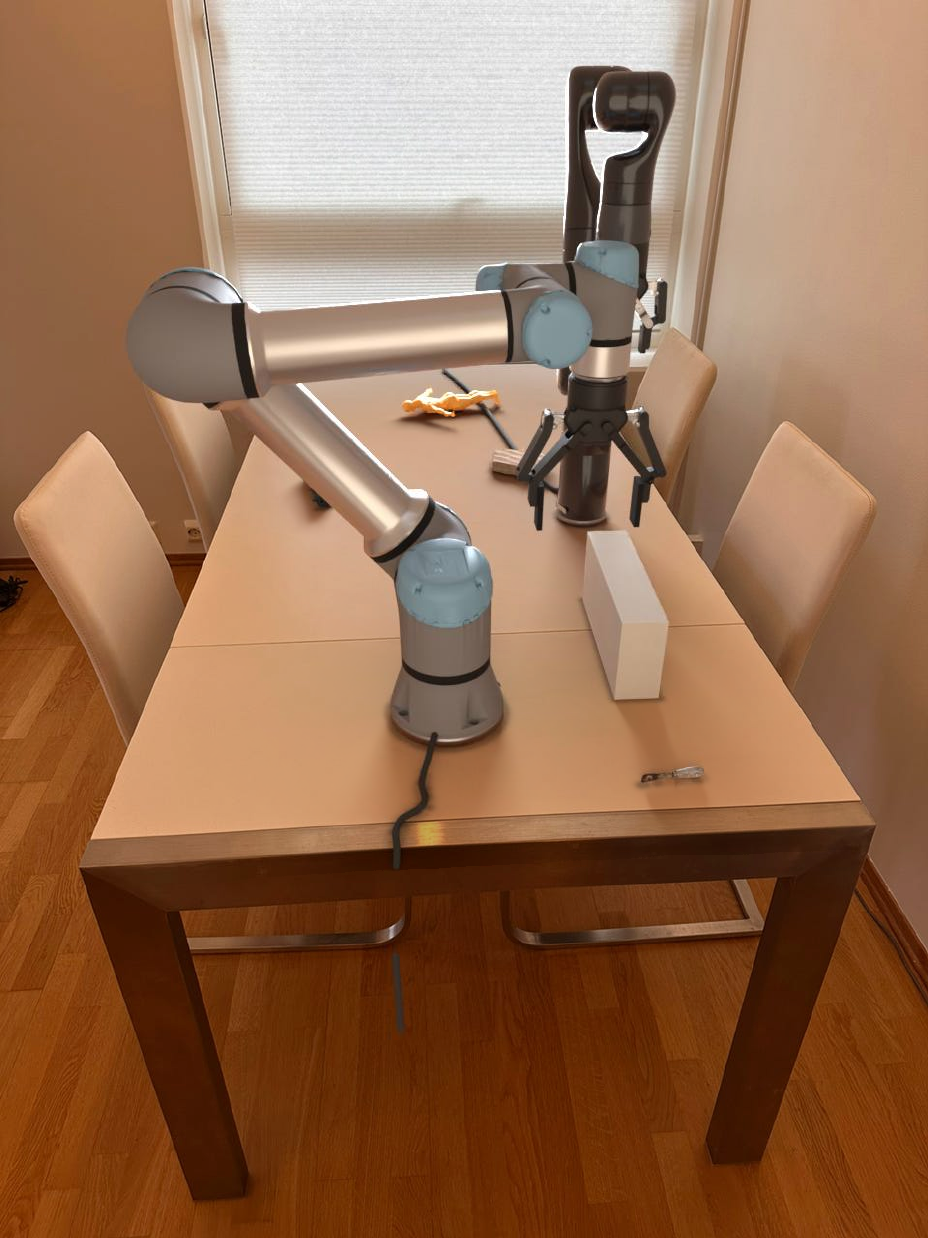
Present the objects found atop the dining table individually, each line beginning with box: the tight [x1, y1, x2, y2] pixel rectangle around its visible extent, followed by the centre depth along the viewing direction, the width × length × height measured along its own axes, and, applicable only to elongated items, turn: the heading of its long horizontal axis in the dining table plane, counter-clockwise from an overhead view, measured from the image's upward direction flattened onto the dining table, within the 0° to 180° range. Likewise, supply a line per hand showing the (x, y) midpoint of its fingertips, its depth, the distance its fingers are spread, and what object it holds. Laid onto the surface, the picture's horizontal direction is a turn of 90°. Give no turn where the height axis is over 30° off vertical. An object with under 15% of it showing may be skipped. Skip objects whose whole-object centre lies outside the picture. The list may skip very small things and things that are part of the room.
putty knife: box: [640, 765, 705, 784], centre depth 109 cm, size 1×8×2 cm, turn 103°
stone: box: [489, 448, 546, 476], centre depth 192 cm, size 13×12×2 cm
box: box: [581, 529, 670, 701], centre depth 131 cm, size 27×6×12 cm, turn 3°
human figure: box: [402, 385, 500, 418], centre depth 225 cm, size 20×20×4 cm
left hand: (586, 525), depth 124 cm, fingers open, 13 cm apart
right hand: (613, 352), depth 134 cm, fingers open, 8 cm apart
